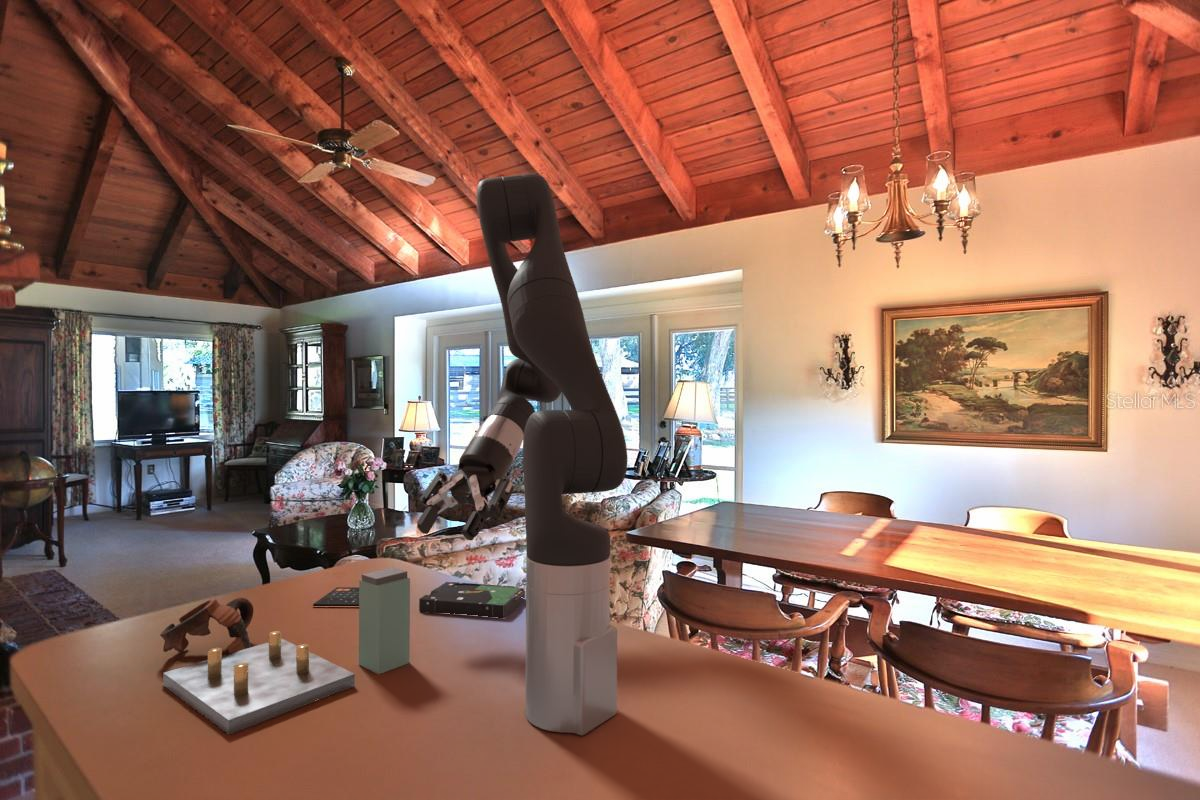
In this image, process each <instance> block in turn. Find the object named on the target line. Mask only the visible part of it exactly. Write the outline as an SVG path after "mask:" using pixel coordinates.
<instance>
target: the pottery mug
mask: <svg viewBox="0 0 1200 800" xmlns="http://www.w3.org/2000/svg"><path fill="white" fill-rule="evenodd" d="M238 611H239V612H238ZM253 617H254V606H253V604H252V603H251V601H250V600H249V599H247V598H245V597H242V596H241V597H237V598H235V599H232V600H231V601H229V602H228V603H227V604H221V603H220V602H219V601H218V599H217V598H215V597H214V598H212V599H208V600H206V601H204V602H202V603H201V604H199V605H197V606H196V607H194V608H193V609H191V610H189V611H188V612H186V613H185V614H184V615H183V614H182V616H181V617H180V618H178V622H179V623H178V624H177V625H175V623H171V624H169V625H168V626H166V627H165V629H164V630H162V631H161V632H160V634H159V636H160V637H161V638H162V639H163V640H164V644H163V649H162V650H163V652H164V653H167V652H169V651H172V650H173V649H174V651H177V652H178V653H179V654H181V653H184V651H185V650H186V649H187V647H188V646H189V643H190V642H189V640H188V639H187V638H186V636H187V634H188V635H190V636H200V637H205V636H208V635H210V634H211V630H210V628H209V625H210V619H211V618H212V619H214V620H215V621H216V622H217V623H218V624H219V625H221V626H223V627H224V628H226V629H227V631H228V635H229V637H230V638H234V640H232V642H231V643H230V644H229V645H228V646H227V647H226V651H228V654H230V653H233V652H237V651H240V650H244V649H247V648H251V647H252V644H251V642H250V638H249V634H248V631H247V629H248V626H249V625H250V624H251V622H252V620H253Z"/></svg>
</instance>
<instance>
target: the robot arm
mask: <svg viewBox="0 0 1200 800" xmlns="http://www.w3.org/2000/svg"><path fill="white" fill-rule="evenodd" d="M476 206H477V213H478V215H477V216H478V219H479V220H478V221H479V224H480V229H481V232H482V236H483V241H484V246H485V249H486V254H487V257H488V261H489V265H490V268H491V272H492V275H493V279H494V283H495V286H496V290H497V293H498V296H499V298H500V299H499V300H500V304H501V308H502V313H503V314H502V315H503V318H504V319H503V320H504V327H505V332H506V340H507V345H508V349H509V351H510V353H511V355H512V356H514V357H515V359H514V360H512V361H510V362H509V363H508V365H507V366H506V367H505V369H504V371H503V372H504V373H503V376H502V381H501V382H502V383H501V386H500V390H499V393H498V396H497V400H496V401H495V404H494V405H493V408H492V409H491V411H490V412H489V414H488V416H487V417H486V419H485V420H484V421H483V422H482V424H481V425H480V426H479V427H478V428H477V430H476V431H475V434H474V435H473V436H472V438H471V440H470V441H469V443H468V444H467V446H466V448H465V450H464V451H463V452H462V454H461V456H460V458H459V460H458V461H459V462H458V469H457V470H456V471H455V472H454V473H453V474H452V475H451V474H446V473H445V471H443V470H439V471H438V472H437V473H436V474H435V476H434V477H433V479H432V480H431V482H430V483H429V484H428V486H427V487H426V489H425V490H424V492H423V493H422V494H421V496H420V497H419V500H420V502H421V503H422V504H423V505H424V506H425V509H424V510H423V511H422V514H421V515H420V517H419V518H418V521H417V523H416V527H417V529H418V531H420V533H421V534H425V535H428V534H429V533H430V531H431V529H432V528H433V527H434V525H435V523H436V522H437V519H438V518H439V516H440V514H441V513H442V512H443V511H445V510H446V509H448V508H449V509H450V508H453V507H455V506H457V505H458V504H460V505H462V504H463V505H464V504H467V505H470V506H471V505H472V506H475V510H476V511H475V510H474V511H472V512H471V514H470V516H469V517H468V519H467V521H466V523H465V525H464V527H463V528H462V530H461V534H462V535H463V537H464V538H465V539H466V540H467V541H473V540H474V539H475V538H476V537H477V536H478V535H479V534H480V531H481V530H482V528H483V526H484V524H485V522H486V521H488V520H490V518H492V517H495V518H497V519H498V518H501V517H502V516H503V513H504V511H505V509H506V507H507V505H508V503H509V500H510V498H511V496H512V494H513V492H514V490H515V486H514V484H513V483H512V480H511V479H510V478H509V477H508V476H507V473H508V471H509V469H510V468H511V466H512V464H513V462H514V461H515V458H516V457H517V455H518V453H519V451H520V449H521V447H522V464H523V467H522V468H523V483H524V521H525V522H524V523H525V536H526V537H525V538H526V558H525V560H526V563H525V564H526V567H525V568H526V570H525V571H526V573H525V575H526V577H525V579H526V581H525V705H524V706H525V714H524V715H525V717H526V719H527V720H528V722H529V723H530V724H531V725H533V726H535V727H537V728H539V729H542V730H546V731H549V732H555V733H570V734H571V733H572V734H576V735H579V736H584V735H586V734H587V733H589V732H590V731H592V730H594V729H595V728H597V727H599V725H601V724H602V723H604V722H605V721H608V720H609V719H610V718H612V717H613V716H615V715H616V714H617V713H618V709H617V707H618V629H617V627H616V626H615V625H611V620H610V619H611V618H610V616H611V610H610V609H611V602H610V601H611V590H610V589H611V582H610V581H611V536H610V532H609V530H607V529H606V528H605V527H604V526H601V525H600V524H596V523H594V522H590V521H586V520H584V519H583V520H582V519H580V518H577V517H575V516H573V515H572V514H570V513H568V512H567V511H566V510H565V508H564V504H563V497H562V495H574V494H588V493H589V494H590V493H604V492H610V491H613V490H616V489H618V487H619V486H621V485H622V483H623V482H624V480H625V477H626V476H627V470H628V449H627V443H626V438H625V434H624V430H623V427H622V424H621V420H620V418H619V416H618V413H617V410H616V407H615V405H614V403H613V400H612V398H611V396H610V393H609V391H608V387H607V386H606V383H605V381H604V378H603V376H602V372H601V371H600V368H599V366H598V363H597V360H596V356H595V353H594V350H593V347H592V343H591V340H590V337H589V331H588V328H587V323H586V319H585V316H584V315H585V314H584V312H583V309H582V305H581V301H580V298H579V293H578V291H577V288H576V285H575V282H574V279H573V276H572V273H571V270H570V267H569V264H568V260H567V256H566V254H565V253H566V252H565V250H564V245H563V242H562V235H561V231H560V226H559V221H558V215H557V210H556V205H555V201H554V197H553V194H552V189H551V187H550V185H549V183H548V181H547V180H546V179H545V177H544V176H543V175H540V174H536V173H524V174H521V173H520V174H515V175H514V174H513V175H506V176H505V175H504V176H497V177H488V178H484V179H482V180H480V181H479V182H478V184H477V188H476ZM527 240H534V242H533V245H532V247H531V249H530V251H529V252H528V254H527V255H526V257H525V258H524V260H523V261H522V263H521V264H520V265H519V266H518V268H517V267H516V266H515V264H514V262H513V261H512V258H511V256H510V255H509V252H508V249H507V245H506V243H511V242H518V241H519V242H520V241H527ZM561 394H562V395H563V396H564V397H565V398H566V399H565V400H567V401H566V402H567V403H568V404H569V406H570V409H542V410H537V411H536V410H535V406H533V404H532V403H531V402H530V401H535V402H540V403H544V404H549V403H552V402H553V403H554V402H555V401H556V400H558V399H559V397H560V396H561ZM529 400H530V401H529ZM449 493H450V495H451V498H450V497H449V496H448V494H449ZM491 494H492V495H491ZM490 495H491V498H490V500H489V496H490ZM431 496H432V497H431ZM440 501H442V502H440ZM439 502H440V504H438V503H439Z"/></svg>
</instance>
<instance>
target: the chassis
mask: <svg viewBox="0 0 1200 800" xmlns="http://www.w3.org/2000/svg"><path fill="white" fill-rule="evenodd" d="M222 650H223V648H222V647H212V648H210V649H208V651H207V659H206V660H202V661H199V662H196V663H193V664H188V665H186V666H182V667H179V668H176V669H171V670H169V671H165V672H163V673H162V674H163V675H162V686H163V687H165V688H166V689H167V690H169V691H170V692H171V693H173V694H174V695H175V696H177V698H179V699H180V700H182V701H183V702H184V701H185V703H186V704H187V705H188V706H190V707H191V708H193V709H194V710H195V711H196V710H197V711H196V712H198V713H199V714H200V713H201V714H200V715H202V716H203V715H204V716H205V717H204V716H203V717H204V718H206V720H208V719H209V720H210V721H209V720H208V721H209V722H211V723H212V724H213V723H214V724H213V725H215V724H216V725H217V726H218V727H217V726H216V725H215V726H216V727H217V728H219V729H220V730H221V729H222V730H221V731H223V732H224V731H225V732H226V733H225V732H224V733H225V734H227V735H228V736H229V735H232V734H235V733H237V732H239V731H242V730H244V729H247V728H250V727H253V726H255V725H258V724H260V723H263V722H265V721H269V720H270V719H273V718H276V717H279V716H281V715H284V714H285V712H287V713H289V712H291V711H290V710H292V711H294V709H295V710H297V709H299V708H298V707H300V708H302V707H304V706H303V705H305V704H308V703H310V704H312V703H311V702H313V701H315V700H317V699H321V698H323V697H326V696H328V695H331V694H334V695H335V693H336V694H338V693H337V692H339V693H341V692H343V691H342V690H344V691H346V690H345V689H347V690H350V689H351V687H352V688H354V687H355V685H356V684H355V678H356V677H355V676H356V674H355V672H352V671H350V670H348V669H346V668H344V667H342V666H339V665H337V664H335V663H333V662H331V661H329V660H328V659H325V658H323V657H321V656H319V655H316V654H315V653H312V652H310V645H309V644H307V643H304V644H299V645H296V644H294V643H292V642H290V641H287V640H286V639H284V638H282V631H280V630H275V631H270V632H269V633H268V642H265V643H261V644H257V645H254V646H251V648H247V649H244V650H240V651H237V652H233V653H226V654H223V653H222V652H223V651H222ZM340 691H341V692H340ZM331 696H332V695H331ZM328 697H329V696H328ZM326 698H327V697H326ZM323 699H324V698H323ZM321 700H322V699H321ZM315 702H316V701H315ZM313 703H314V702H313ZM308 705H309V704H308ZM301 706H302V707H301ZM305 706H306V705H305ZM296 708H297V709H296ZM288 711H289V712H288ZM283 713H284V714H283ZM280 714H281V715H280ZM278 715H279V716H278Z"/></svg>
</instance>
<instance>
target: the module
mask: <svg viewBox="0 0 1200 800" xmlns="http://www.w3.org/2000/svg"><path fill="white" fill-rule="evenodd" d="M358 581H359V582H358V583H359V584H358V586H359V608H358V666H360V665H361V666H360V667H362V666H363V667H362V668H364V667H365V668H364V669H366V668H367V670H368V669H369V671H370V670H371V671H370V672H373V673H375V674H377V675H381V674H383V673H386V672H389V671H391V670H394V669H396V668H397V669H398V668H399V667H402V666H404V665H405V666H406V665H407V664H409V663H410V653H411V652H410V648H411V647H410V643H411V642H410V641H411V634H410V632H411V623H410V622H411V620H410V617H411V615H410V613H411V611H410V610H411V578H409V577H408V571H407V570H404V569H401V568H397V567H393V566H392V567H388V568H384V569H380V570H375V571H371V572H367V573H364V574H361V579H359V580H358ZM380 673H381V674H380Z"/></svg>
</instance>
